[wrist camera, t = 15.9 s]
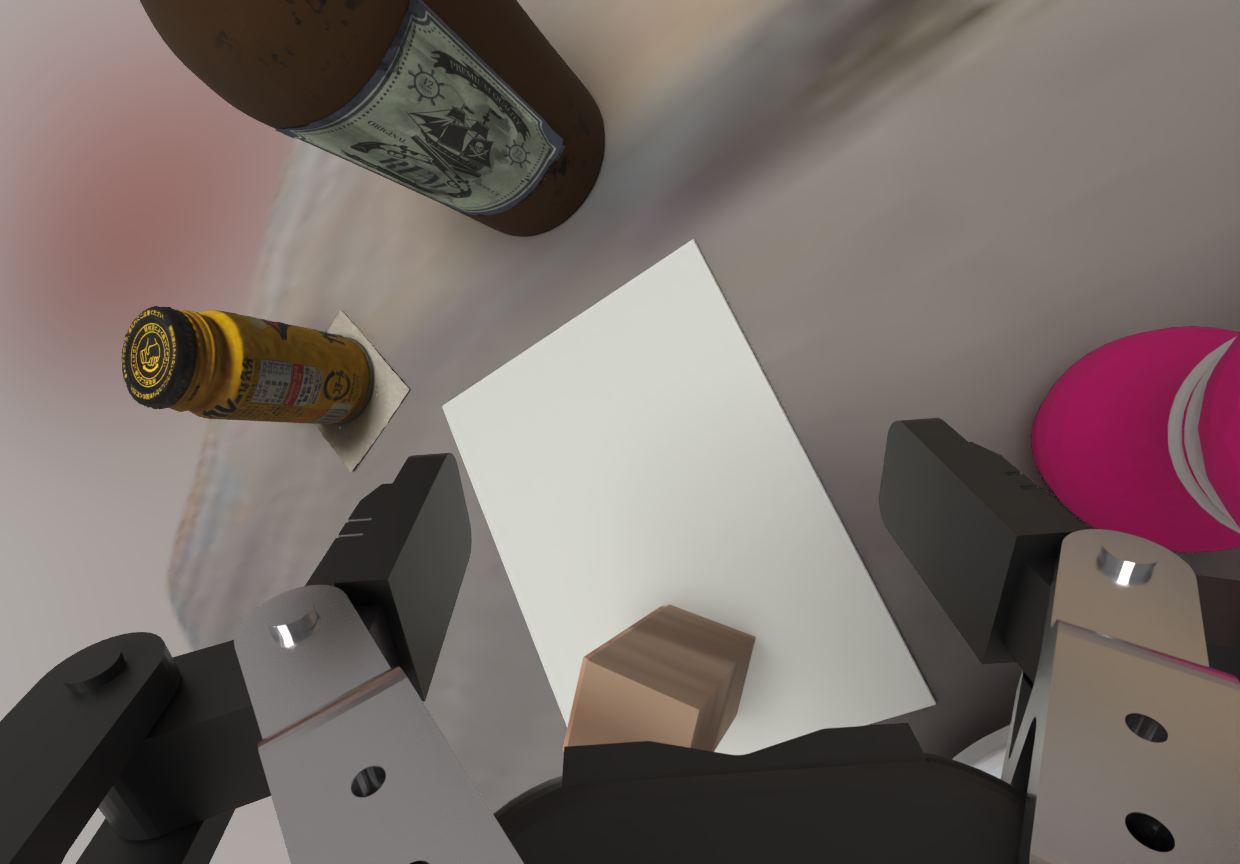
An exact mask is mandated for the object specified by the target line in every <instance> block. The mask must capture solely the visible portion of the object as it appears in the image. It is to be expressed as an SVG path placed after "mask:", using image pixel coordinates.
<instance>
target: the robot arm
mask: <svg viewBox="0 0 1240 864" xmlns="http://www.w3.org/2000/svg"><path fill="white" fill-rule="evenodd" d="M879 504H880V512H881V516H882V519H883V522H884V524H885V527H886V528H887V530H888V531H889V533H890V534H891V535H892V537H893V538H894V540H895V541H896V543H897V544H898V545H899V547H900V548H901V550H902V551H903V552H904V554H905V555H906V557H907V558H908V560H909V561H910V562H911V564H912V565H913V567H914V568H915V569H916V571H917V572H918V574H919V575H920V576H921V578H922V579H923V581H924V582H925V584H926V585H927V586H928V588H929V589H930V591H931V592H932V593H933V595H934V596H935V598H936V599H937V601H938V602H939V603H940V605H941V606H942V608H943V609H944V610H945V612H946V613H947V615H948V616H949V618H950V619H951V620H952V622H953V623H954V625H955V626H956V627H957V629H958V630H959V632H960V633H961V635H962V636H963V637H964V639H965V640H966V642H967V643H968V644H969V646H970V647H971V649H972V650H973V651H974V653H975V654H976V656H977V657H978V659H979V660H980V661H981V663H982V664H993V663H1007V662H1017V663H1018V664H1019V666H1020V667H1021V668H1022V669H1023V671H1022V674H1021V677H1020V680H1019V683H1018V687H1017V692H1016V697H1015V703H1014V708H1013V714H1012V719H1011V725H1010V730H1009V736H1008V741H1007V747H1006V753H1005V758H1004V764H1003V769H1002V775H1001V779H999V778H997V777H995V776H993V775H991V774H988V773H986V772H984V771H982V770H980V769H977V768H975V767H972V766H969V765H967V764H964V763H961V762H958V761H956V760H952V759H949V758H945V757H941V756H937V755H934V754H929V753H924V752H923V751H922V749H921V747H920V745H919V743H918V741H917V740H916V738H915V736H914V734H913V732H912V730H911V728H910V726H909V724H908V723H898V724H884V725H869V726H855V727H841V728H826V729H821V730H818V731H815V732H812V733H809V734H806V735H803V736H800V737H797V738H794V739H791V740H788V741H785V742H782V743H779V744H776V745H773V746H770V747H767V748H764V749H761V750H758V751H755V752H752V753H749V754H745V755H730V754H724V753H718V752H712V751H706V750H700V749H694V748H688V747H682V746H676V745H670V744H664V743H658V742H653V741H639V742H624V743H610V744H595V745H581V746H566V747H564V761H563V776H560V777H557V778H554V779H551V780H548V781H546V782H544V783H542V784H540V785H538V786H536V787H533V788H531V789H529V790H528V791H526V792H524V793H523V794H521V795H519V796H518V797H516V798H514V799H513V800H511V801H510V802H508V803H507V804H506V805H504V806H503V807H502V808H500V809H499V810H498V811H497V812H495V813H494V814H493V813H492V812H491V810H490V809H489V807H488V805H487V804H486V802H485V801H484V799H483V797H482V796H481V794H480V793H479V791H478V789H477V788H476V786H475V785H474V783H473V781H472V780H471V778H470V777H469V775H468V773H467V772H466V770H465V769H464V767H463V765H462V764H461V762H460V761H459V759H458V757H457V756H456V754H455V753H454V751H453V749H452V748H451V746H450V745H449V743H448V741H447V740H446V738H445V737H444V735H443V733H442V732H441V730H440V729H439V727H438V725H437V724H436V722H435V721H434V719H433V717H432V716H431V714H430V713H429V711H428V709H427V708H426V706H425V705H424V703H423V701H425V699H426V696H427V693H428V690H429V686H430V683H431V680H432V677H433V674H434V670H435V667H436V664H437V661H438V657H439V654H440V651H441V648H442V645H443V641H444V638H445V635H446V632H447V628H448V625H449V622H450V619H451V616H452V612H453V609H454V606H455V603H456V599H457V596H458V593H459V590H460V587H461V583H462V580H463V577H464V574H465V570H466V567H467V564H468V561H469V557H470V553H471V527H470V521H469V516H468V512H467V507H466V503H465V498H464V493H463V489H462V484H461V479H460V475H459V470H458V466H457V462H456V459H455V457H454V456H453V454H452V453H442V454H429V455H415V456H410V457H408V459H407V460H406V462H405V463H404V465H403V467H402V469H401V470H400V472H399V474H398V475H397V477H396V479H395V480H394V482H393V484H382V485H380V486H379V487H378V488H376V489H375V490H374V491H372V492H371V493H370V494H369V495H367V496H366V497H365V498H363V499H362V500H361V501H360V502H359V504H358V505H357V507H356V508H355V510H354V511H353V513H352V514H351V516H350V517H349V519H348V520H349V522H348V523H346V524H345V525H344V527H343V528H342V530H341V531H340V533H339V538H336V539H335V540H334V542H333V544H332V545H331V547H330V548H329V550H328V551H327V553H326V554H325V556H324V557H323V559H322V560H321V562H320V564H319V565H318V567H317V568H316V570H315V571H314V573H313V574H312V576H311V577H310V579H309V580H308V582H307V584H306V585H305V586H304V587H300V588H296V589H293V590H290V591H287V592H285V593H282V594H280V595H278V596H276V597H274V598H272V599H270V600H268V601H267V602H265V603H263V604H262V605H261V606H259V607H258V608H256V609H255V610H254V611H253V612H252V613H251V614H249V615H248V616H247V617H246V619H245V620H244V621H243V622H242V623H241V625H240V626H239V628H238V630H237V632H236V634H235V638H234V640H231V641H228V642H225V643H222V644H218V645H215V646H211V647H208V648H204V649H201V650H197V651H194V652H190V653H187V654H183V655H180V656H177V657H173V658H172V656H171V654H170V652H169V650H168V649H167V647H166V645H165V643H164V641H163V640H162V639H161V637H159V636H157V635H155V634H152V633H146V632H137V633H128V634H123V635H119V636H115V637H111V638H109V639H106V640H103V641H100V642H98V643H95V644H93V645H91V646H89V647H87V648H85V649H83V650H81V651H79V652H77V653H75V654H74V655H72V656H70V657H69V658H67V659H65V660H64V661H63V662H61V663H60V664H58V665H57V666H55V667H54V668H53V669H52V670H51V671H50V672H48V673H47V674H46V675H45V676H44V677H43V678H42V679H40V680H39V682H37V684H36V685H35V686H34V687H33V688H32V689H31V690H30V691H29V692H28V693H27V694H26V695H25V696H24V697H23V698H22V699H21V700H20V702H18V704H17V705H16V706H15V707H14V708H13V709H12V710H11V711H10V712H9V713H8V714H7V715H6V716H5V717H4V718H3V720H1V722H0V864H61V863H62V861H63V859H64V857H65V855H66V854H67V852H68V850H69V849H70V847H71V846H72V844H73V843H74V841H75V840H76V839H77V837H78V836H79V834H80V833H81V831H82V830H83V828H84V827H85V825H86V824H87V823H88V821H89V820H90V818H91V817H92V815H93V814H94V812H95V811H96V809H97V808H99V809H100V811H101V812H102V813H103V815H104V816H105V818H106V819H105V820H104V822H103V823H102V825H101V827H100V828H99V829H98V831H97V832H96V834H95V835H94V837H93V838H92V840H91V842H90V843H89V845H88V846H87V847H86V849H85V851H84V852H83V853H82V855H81V856H80V858H79V859H78V861H77V863H76V864H209V863H210V860H211V858H212V856H213V854H214V852H215V850H216V848H217V846H218V844H219V842H220V840H221V838H222V836H223V834H224V831H225V829H226V827H227V825H228V823H229V821H230V819H231V817H232V815H233V813H234V810H235V809H236V808H238V807H241V806H244V805H246V804H249V803H252V802H255V801H258V800H260V799H263V798H266V797H268V796H272V799H273V802H274V806H275V809H276V813H277V816H278V820H279V823H280V827H281V830H282V834H283V837H284V840H285V844H286V847H287V850H288V854H289V857H290V861H291V864H1240V581H1236V580H1229V579H1221V578H1213V577H1205V576H1197V575H1195V573H1194V571H1193V570H1192V568H1191V567H1190V566H1189V565H1188V564H1187V563H1186V562H1185V561H1184V560H1183V559H1182V558H1180V557H1179V556H1178V555H1176V554H1175V553H1173V552H1172V551H1170V550H1168V549H1166V548H1164V547H1163V546H1161V545H1159V544H1156V543H1154V542H1152V541H1149V540H1147V539H1144V538H1141V537H1138V536H1135V535H1131V534H1127V533H1123V532H1118V531H1112V530H1104V529H1089V528H1088V527H1087V526H1085V525H1084V524H1083V523H1082V522H1081V521H1079V520H1078V519H1077V518H1076V517H1074V516H1073V515H1072V514H1071V513H1070V512H1068V511H1067V510H1066V509H1065V508H1064V507H1062V506H1061V505H1060V504H1059V503H1058V502H1056V501H1055V500H1054V499H1053V498H1051V497H1050V496H1049V495H1048V494H1047V493H1045V492H1044V491H1043V490H1042V489H1037V488H1036V484H1035V483H1033V482H1032V481H1031V480H1030V479H1028V478H1027V477H1026V476H1025V475H1020V471H1019V470H1018V469H1016V468H1015V467H1014V466H1013V465H1011V464H1010V463H1009V462H1008V461H1007V460H1005V459H1004V458H1003V457H1002V456H1001V455H999V454H997V453H994V452H992V451H990V450H988V449H986V448H983V447H981V446H979V445H977V444H975V443H973V442H967V441H966V440H965V439H964V438H963V437H962V436H961V435H959V434H958V433H957V432H956V431H955V430H954V429H952V428H951V427H950V426H949V425H948V424H947V423H945V422H944V421H943V420H942V419H939V418H930V419H916V420H903V421H895V422H894V423H893V424H892V425H891V427H890V429H889V432H888V437H887V444H886V452H885V459H884V466H883V473H882V480H881V487H880V495H879Z"/></svg>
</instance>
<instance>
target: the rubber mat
mask: <svg viewBox="0 0 1240 864" xmlns="http://www.w3.org/2000/svg"><path fill="white" fill-rule="evenodd" d="M442 408H443V410H444V413H445V415H446V418H447V421H448V423H449V426H450V428H451V431H452V433H453V436H454V439H455V441H456V444H457V446H458V449H459V451H460V454H461V456H462V459H463V462H464V464H465V467H466V469H467V472H468V474H469V477H470V480H471V482H472V485H473V487H474V490H475V492H476V495H477V497H478V500H479V503H480V505H481V508H482V510H483V513H484V515H485V518H486V521H487V523H488V526H489V528H490V531H491V533H492V536H493V538H494V541H495V544H496V546H497V549H498V551H499V554H500V556H501V559H502V562H503V564H504V567H505V569H506V572H507V574H508V577H509V579H510V582H511V585H512V587H513V590H514V592H515V595H516V597H517V600H518V603H519V605H520V608H521V610H522V613H523V615H524V618H525V620H526V623H527V626H528V628H529V631H530V633H531V636H532V638H533V641H534V644H535V646H536V649H537V651H538V654H539V656H540V659H541V661H542V664H543V667H544V669H545V672H546V674H547V677H548V679H549V682H550V685H551V687H552V690H553V692H554V695H555V697H556V700H557V702H558V705H559V708H560V710H561V713H562V715H563V718H564V720H565V723H566V726H567V727H568V723H569V718H570V714H571V709H572V705H573V700H574V696H575V692H576V687H577V683H578V678H579V674H580V669H581V665H582V660H583V657H584V656H586V655H587V654H589V653H590V652H592V651H593V650H595V649H596V648H598V647H599V646H601V645H602V644H604V643H605V642H607V641H609V640H610V639H612V638H613V637H615V636H616V635H618V634H619V633H621V632H622V631H624V630H625V629H627V628H628V627H630V626H631V625H633V624H634V623H636V622H638V621H639V620H641V619H642V618H644V617H645V616H647V615H648V614H650V613H651V612H653V611H654V610H656V609H657V608H659V607H660V606H664V607H667V606H668V605H673V606H675V607H678V608H681V609H683V610H686V611H689V612H691V613H694V614H697V615H699V616H702V617H705V618H707V619H710V620H713V621H715V622H718V623H720V624H723V625H726V626H728V627H731V628H734V629H736V630H739V631H742V632H744V633H747V634H750V635H752V636H755V637H756V639H755V643H754V647H753V651H752V655H751V659H750V663H749V667H748V671H747V675H746V679H745V683H744V687H743V692H742V696H741V700H740V704H739V708H738V712H737V716H736V717H735V719H734V720H733V722H732V724H731V725H730V727H729V729H728V730H727V732H726V733H725V735H724V737H723V738H722V740H721V741H720V743H719V745H718V746H717V748H716V749H715V751H714V752H718V753H724V754H730V755H745V754H749V753H752V752H755V751H758V750H761V749H764V748H767V747H770V746H773V745H776V744H779V743H782V742H785V741H788V740H791V739H794V738H797V737H800V736H803V735H806V734H809V733H812V732H815V731H818V730H821V729H826V728H841V727H855V726H865V725H868V724H872V723H875V722H879V721H882V720H885V719H889V718H892V717H896V716H899V715H902V714H906V713H909V712H913V711H916V710H919V709H923V708H926V707H930V706H933V705H936V701H935V699H934V697H933V695H932V693H931V691H930V689H929V688H928V686H927V684H926V682H925V680H924V678H923V676H922V674H921V672H920V670H919V668H918V667H917V665H916V663H915V661H914V659H913V657H912V655H911V653H910V651H909V649H908V647H907V645H906V644H905V642H904V640H903V638H902V636H901V634H900V632H899V630H898V628H897V626H896V624H895V623H894V621H893V619H892V617H891V615H890V613H889V611H888V609H887V607H886V605H885V603H884V601H883V600H882V598H881V596H880V594H879V592H878V590H877V588H876V586H875V584H874V582H873V580H872V579H871V577H870V575H869V573H868V571H867V569H866V567H865V565H864V563H863V561H862V559H861V557H860V556H859V554H858V552H857V550H856V548H855V546H854V544H853V542H852V540H851V538H850V536H849V534H848V533H847V531H846V529H845V527H844V525H843V523H842V521H841V519H840V517H839V515H838V513H837V512H836V510H835V508H834V506H833V504H832V502H831V500H830V498H829V496H828V494H827V492H826V490H825V489H824V487H823V485H822V483H821V481H820V479H819V477H818V475H817V473H816V471H815V469H814V468H813V466H812V464H811V462H810V460H809V458H808V456H807V454H806V452H805V450H804V448H803V446H802V445H801V443H800V441H799V439H798V437H797V435H796V433H795V431H794V429H793V427H792V425H791V424H790V422H789V420H788V418H787V416H786V414H785V412H784V410H783V408H782V406H781V404H780V402H779V401H778V399H777V397H776V395H775V393H774V391H773V389H772V387H771V385H770V383H769V381H768V380H767V378H766V376H765V374H764V372H763V370H762V368H761V366H760V364H759V362H758V360H757V358H756V357H755V355H754V353H753V351H752V349H751V347H750V345H749V343H748V341H747V339H746V337H745V336H744V334H743V332H742V330H741V328H740V326H739V324H738V322H737V320H736V318H735V316H734V314H733V313H732V311H731V309H730V307H729V305H728V303H727V301H726V299H725V297H724V295H723V293H722V291H721V290H720V288H719V286H718V284H717V282H716V280H715V278H714V276H713V274H712V272H711V270H710V269H709V267H708V265H707V263H706V261H705V259H704V257H703V255H702V253H701V251H700V249H699V247H698V246H697V244H696V242H695V241H694V240H691V241H690V242H688V243H687V244H685V245H684V246H682V247H681V248H679V249H678V250H676V251H675V252H673V253H672V254H670V255H669V256H667V257H666V258H664V259H663V260H661V261H660V262H658V263H657V264H655V265H654V266H652V267H651V268H649V269H648V270H646V271H645V272H643V273H642V274H640V275H639V276H637V277H636V278H634V279H632V280H631V281H629V282H628V283H626V284H625V285H623V286H622V287H620V288H619V289H617V290H616V291H614V292H613V293H611V294H610V295H608V296H607V297H605V298H604V299H602V300H601V301H599V302H598V303H596V304H595V305H593V306H592V307H590V308H589V309H587V310H586V311H584V312H583V313H581V314H580V315H578V316H577V317H575V318H574V319H572V320H571V321H569V322H568V323H566V324H565V325H563V326H562V327H560V328H559V329H557V330H556V331H554V332H553V333H551V334H550V335H548V336H547V337H545V338H544V339H542V340H541V341H539V342H538V343H536V344H535V345H533V346H532V347H530V348H529V349H527V350H526V351H524V352H523V353H521V354H520V355H518V356H517V357H515V358H514V359H512V360H511V361H509V362H508V363H506V364H505V365H503V366H502V367H500V368H499V369H497V370H496V371H494V372H493V373H491V374H490V375H488V376H487V377H485V378H484V379H482V380H481V381H479V382H478V383H476V384H475V385H473V386H472V387H470V388H469V389H467V390H466V391H464V392H463V393H461V394H460V395H458V396H457V397H455V398H454V399H452V400H451V401H449V402H448V403H446V404H445V405H443V406H442Z"/></svg>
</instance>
